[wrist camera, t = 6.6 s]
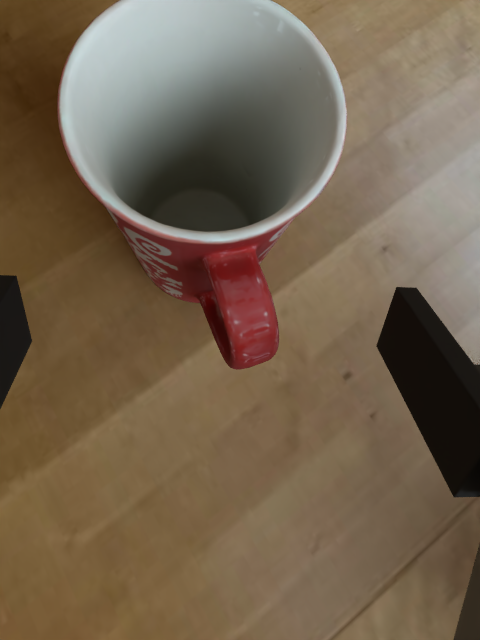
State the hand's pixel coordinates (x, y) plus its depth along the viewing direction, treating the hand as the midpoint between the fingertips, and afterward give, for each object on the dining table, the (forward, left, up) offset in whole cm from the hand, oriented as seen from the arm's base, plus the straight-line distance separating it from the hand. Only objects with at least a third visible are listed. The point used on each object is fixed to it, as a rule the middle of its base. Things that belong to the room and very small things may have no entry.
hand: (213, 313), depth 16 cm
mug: (0, +4, -11) cm, 11 cm away
